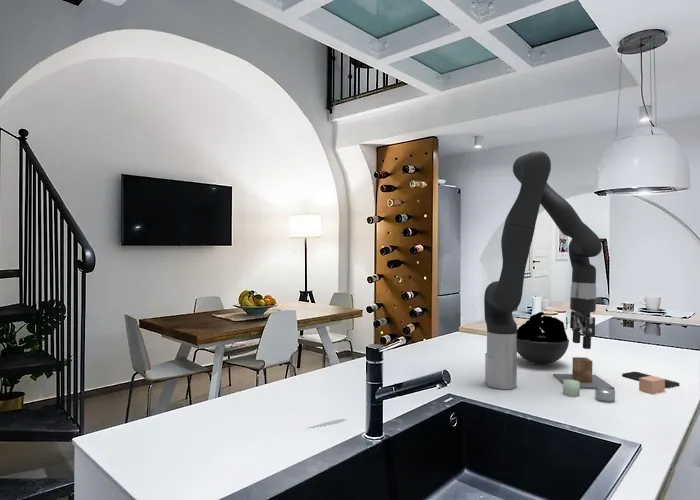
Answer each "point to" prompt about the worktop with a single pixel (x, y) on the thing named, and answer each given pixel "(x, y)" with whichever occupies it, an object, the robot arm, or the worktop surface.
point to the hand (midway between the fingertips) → (581, 345)
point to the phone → (639, 375)
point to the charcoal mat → (595, 383)
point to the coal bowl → (542, 339)
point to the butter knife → (328, 423)
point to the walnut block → (582, 369)
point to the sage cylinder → (571, 388)
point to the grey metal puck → (605, 395)
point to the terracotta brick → (652, 384)
